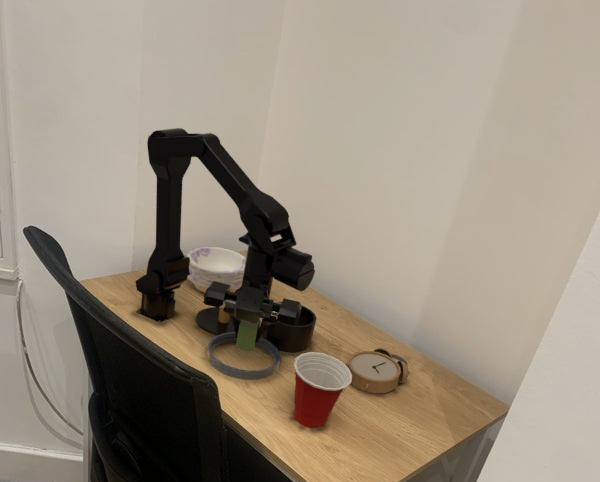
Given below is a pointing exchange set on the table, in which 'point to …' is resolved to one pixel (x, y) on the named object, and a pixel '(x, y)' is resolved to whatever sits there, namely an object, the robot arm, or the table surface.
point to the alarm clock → (377, 370)
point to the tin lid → (215, 320)
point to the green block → (247, 335)
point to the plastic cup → (318, 387)
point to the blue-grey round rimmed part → (238, 372)
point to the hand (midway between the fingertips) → (246, 340)
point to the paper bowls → (216, 267)
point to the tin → (292, 333)
